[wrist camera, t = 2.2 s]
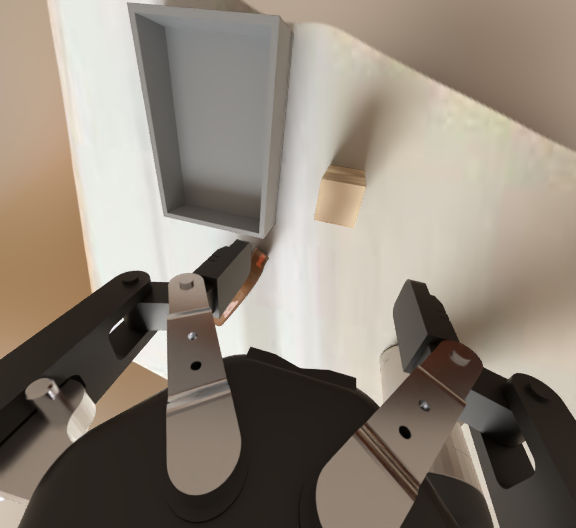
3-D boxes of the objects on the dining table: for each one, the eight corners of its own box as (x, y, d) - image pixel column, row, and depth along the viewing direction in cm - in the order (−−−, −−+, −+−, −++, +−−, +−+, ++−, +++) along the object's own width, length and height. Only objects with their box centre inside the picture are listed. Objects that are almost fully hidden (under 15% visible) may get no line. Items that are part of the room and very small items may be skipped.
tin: (261, 237, 36) (238, 266, 29) (278, 250, 36) (259, 281, 29) (220, 293, 44) (195, 326, 37) (234, 303, 44) (212, 337, 37)
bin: (293, 34, 23) (279, 15, 19) (274, 224, 34) (263, 238, 30) (165, 21, 25) (126, 2, 21) (186, 205, 36) (163, 216, 32)
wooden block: (364, 170, 28) (366, 186, 21) (354, 203, 30) (353, 228, 23) (330, 164, 28) (321, 178, 22) (323, 197, 30) (313, 219, 24)
